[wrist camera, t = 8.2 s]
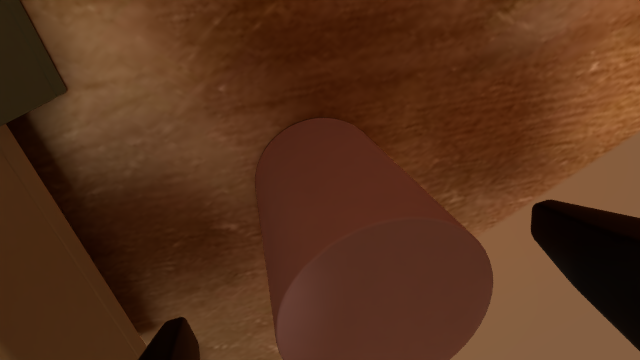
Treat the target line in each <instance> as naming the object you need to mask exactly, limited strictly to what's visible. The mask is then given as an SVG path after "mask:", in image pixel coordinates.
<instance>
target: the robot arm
mask: <svg viewBox="0 0 640 360" xmlns="http://www.w3.org/2000/svg"><path fill="white" fill-rule="evenodd" d="M531 234H532V236H533V238H534V239H535V241H536V242H537V243H538V244H539V245H540V247H541V248H542V249H543V250H544V251H545V253H546V254H547V255H548V256H549V257H550V259H551V260H552V261H553V262H554V263H555V265H556V266H557V267H558V268H559V269H560V271H561V272H562V273H563V274H564V275H565V276H566V278H567V279H568V280H569V281H570V282H571V283H572V284H573V286H574V287H575V288H576V289H577V290H578V291H579V292H580V293H581V294H582V295H583V296H584V297H585V298H586V299H587V300H588V301H589V302H590V303H591V304H592V305H593V306H594V307H595V308H596V309H597V310H598V311H599V312H600V313H601V314H603V316H604V317H606V319H607V320H608V321H610V322H611V323H612V324H613V325H614V326H615V327H616V328H617V329H618V330H619V331H620V332H621V333H622V334H623V335H624V336H625V337H626V338H627V339H628V340H629V341H630V342H631V343H632V344H633V345H634V346H635V347H636V348H637V349H638V350H639V351H640V218H637V217H632V216H627V215H622V214H617V213H613V212H608V211H603V210H599V209H594V208H588V207H584V206H579V205H574V204H569V203H565V202H560V201H555V200H546V201H542V202H539V203H536V204H535V205H534V206H533V208H532V218H531ZM138 360H200V352H199V344H198V341H197V339H196V337H195V335H194V333H193V331H192V329H191V327H190V325H189V324H188V322H187V320H186V319H185V318H184V317H179V318H175V319H172V320H169V321H167V322H165V323H164V324H163V326H162V327H161V328H160V330H159V331H158V332H157V334H156V335H155V337H154V338H153V339H152V341H151V342H150V343H149V345H148V346H147V348H146V349H145V350H144V352H143V353H142V354H141V356H140V357H139V358H138Z"/></svg>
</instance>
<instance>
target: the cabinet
mask: <svg viewBox="0 0 640 360" xmlns="http://www.w3.org/2000/svg"><path fill="white" fill-rule="evenodd" d="M65 92H66V88H65V86H64V84H63V82H62V80H61V78H60V77H59V75H58V73H57V71H56V69H55V67H54V65H53V63H52V61H51V60H50V58H49V56H48V54H47V52H46V50H45V48H44V46H43V44H42V43H41V41H40V39H39V37H38V35H37V33H36V31H35V29H34V27H33V26H32V24H31V22H30V20H29V18H28V16H27V14H26V12H25V10H24V9H23V7H22V5H21V3H20V1H19V0H0V126H2V125H4V124H6V123H8V122H10V121H12V120H14V119H16V118H18V117H20V116H22V115H23V114H25V113H27V112H29V111H31V110H33V109H35V108H37V107H39V106H41V105H43V104H45V103H47V102H49V101H51V100H53V99H55V98H56V97H58V96H60V95H62V94H64V93H65Z"/></svg>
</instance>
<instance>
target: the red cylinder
mask: <svg viewBox="0 0 640 360" xmlns="http://www.w3.org/2000/svg"><path fill="white" fill-rule="evenodd" d="M255 188H256V196H257V204H258V211H259V219H260V226H261V233H262V241H263V248H264V255H265V263H266V270H267V277H268V285H269V292H270V300H271V307H272V314H273V322H274V329H275V336H276V343H277V346H278V350H279V353H280V355H281V357H282V359H283V360H450V359H451V358H452V357H453V356H454V355H455V354H456V353H458V352H459V351H460V350H461V349H462V347H464V345H466V343H467V342H468V341H469V340H470V338H471V337H472V336H473V335H474V333H475V332H476V330H477V329H478V327H479V326H480V324H481V322H482V320H483V318H484V316H485V314H486V312H487V309H488V306H489V304H490V300H491V296H492V288H493V273H492V268H491V264H490V260H489V258H488V256H487V253H486V251H485V249H484V248H483V247H482V245H481V244H480V242H479V241H478V240H477V239H476V238H475V237H474V236H473V235H472V234H471V233H470V232H469V231H468V230H466V229H465V228H464V227H463V226H462V225H461V224H460V223H459V222H458V221H457V220H456V219H455V218H454V217H453V216H452V215H451V214H449V213H448V212H447V211H446V210H445V209H444V208H443V207H442V206H441V205H440V204H439V203H438V202H437V201H436V200H435V199H434V198H432V197H431V196H430V195H429V194H428V193H427V192H426V191H425V190H424V189H423V188H422V187H421V186H420V185H419V184H418V183H417V182H415V181H414V180H413V179H412V178H411V177H410V176H409V175H408V174H407V173H406V172H405V171H404V170H403V169H402V168H401V167H400V166H398V165H397V164H396V163H395V162H394V161H393V160H392V159H391V158H390V157H389V156H388V155H387V154H386V153H385V152H384V151H383V150H381V149H380V148H379V147H378V146H377V145H376V144H375V143H374V142H373V141H372V140H371V139H370V138H369V137H368V136H367V135H366V134H365V133H363V132H362V131H361V130H360V129H358V128H357V127H356V126H354V125H352V124H350V123H348V122H345V121H342V120H338V119H333V118H314V119H309V120H305V121H302V122H299V123H296V124H294V125H292V126H290V127H288V128H287V129H285V130H284V131H282V132H281V133H280V134H279V135H277V136H276V137H275V138H274V139H273V140H272V141H271V142H270V143H269V145H268V146H267V148H266V149H265V150H264V152H263V154H262V156H261V158H260V160H259V163H258V166H257V170H256V175H255Z"/></svg>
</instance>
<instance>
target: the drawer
mask: <svg viewBox="0 0 640 360" xmlns="http://www.w3.org/2000/svg"><path fill="white" fill-rule="evenodd" d="M146 348H147V347H146V345H145V343H144V342H143V340H142V339H141V337H140V335H139V334H138V332H137V331H136V329H135V328H134V326H133V324H132V323H131V321H130V320H129V318H128V316H127V315H126V313H125V312H124V310H123V309H122V307H121V305H120V304H119V302H118V301H117V299H116V297H115V296H114V294H113V293H112V291H111V290H110V288H109V286H108V285H107V283H106V282H105V280H104V278H103V277H102V275H101V274H100V272H99V271H98V269H97V267H96V266H95V264H94V263H93V261H92V259H91V258H90V256H89V255H88V253H87V252H86V250H85V248H84V247H83V245H82V244H81V242H80V240H79V239H78V237H77V236H76V234H75V233H74V231H73V229H72V228H71V226H70V225H69V223H68V221H67V220H66V218H65V217H64V215H63V214H62V212H61V210H60V209H59V207H58V206H57V204H56V203H55V201H54V199H53V198H52V196H51V195H50V193H49V191H48V190H47V188H46V187H45V185H44V184H43V182H42V180H41V179H40V177H39V176H38V174H37V172H36V171H35V169H34V168H33V166H32V165H31V163H30V161H29V160H28V158H27V157H26V155H25V153H24V152H23V150H22V149H21V147H20V146H19V144H18V142H17V141H16V139H15V138H14V136H13V134H12V133H11V131H10V130H9V128H8V127H7V125H6V124H4V125H2V126H0V360H138V358H139V357H140V356H141V354H142V353H143V352H144V350H145V349H146Z"/></svg>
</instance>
